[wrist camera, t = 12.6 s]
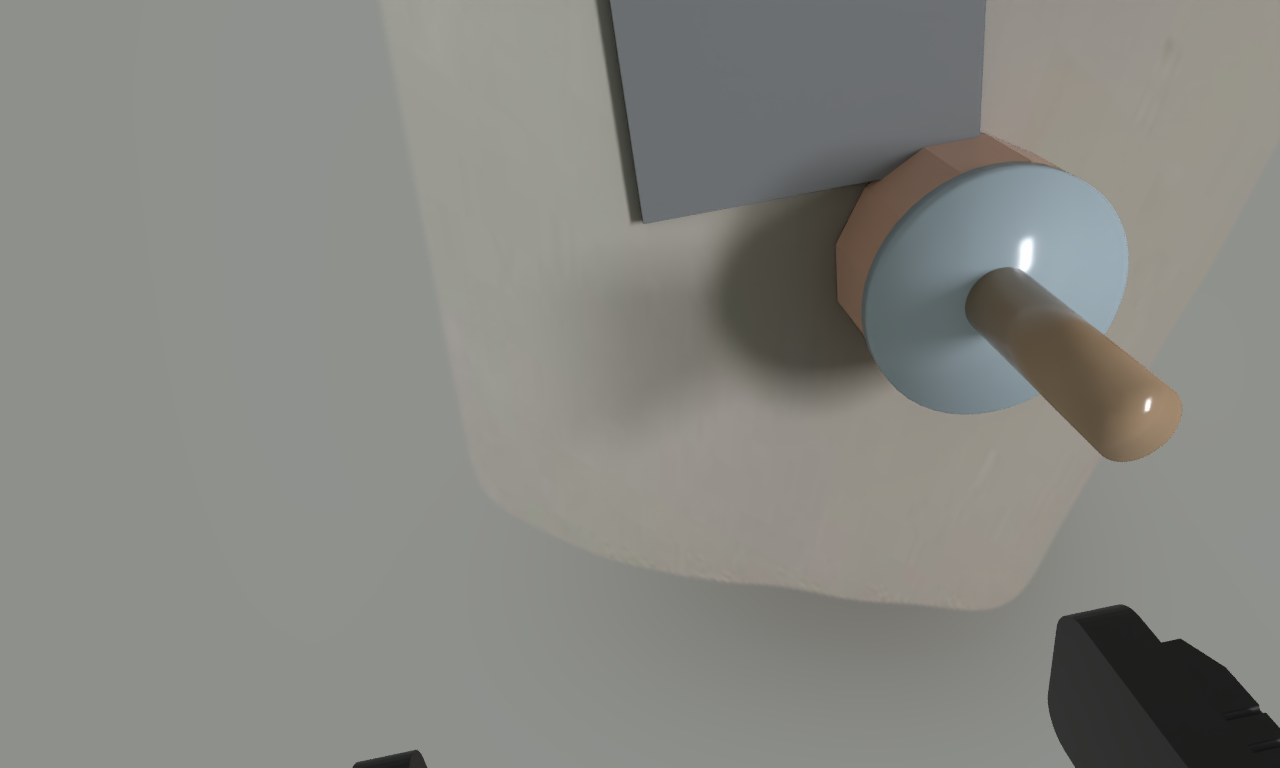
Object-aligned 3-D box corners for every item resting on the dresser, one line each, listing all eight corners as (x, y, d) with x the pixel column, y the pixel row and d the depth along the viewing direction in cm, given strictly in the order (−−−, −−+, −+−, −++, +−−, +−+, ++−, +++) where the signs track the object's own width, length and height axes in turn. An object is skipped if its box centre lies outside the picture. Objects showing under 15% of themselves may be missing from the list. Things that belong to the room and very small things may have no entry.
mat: (582, -178, 30) (583, -179, 30) (991, -247, 31) (997, -248, 31) (642, 220, 38) (643, 223, 37) (974, 158, 38) (978, 160, 38)
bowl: (832, 160, 38) (866, 192, 34) (1069, 116, 38) (1126, 143, 35) (840, 371, 43) (870, 417, 39) (1049, 330, 43) (1097, 372, 40)
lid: (856, 190, 34) (979, 306, 25) (1128, 137, 34) (1339, 233, 26) (864, 424, 39) (968, 584, 31) (1099, 374, 40) (1266, 519, 31)
